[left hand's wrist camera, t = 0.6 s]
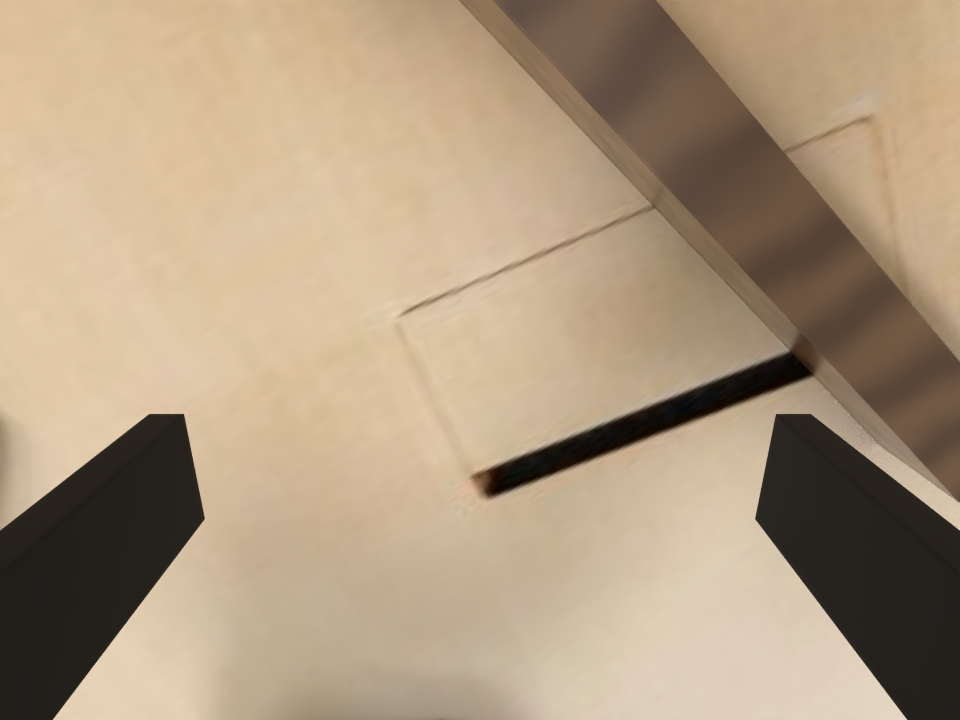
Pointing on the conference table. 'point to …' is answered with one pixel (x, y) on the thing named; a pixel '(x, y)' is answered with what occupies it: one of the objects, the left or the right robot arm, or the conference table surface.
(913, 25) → the conference table surface
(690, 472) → the conference table surface
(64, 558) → the left robot arm
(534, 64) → the beam
